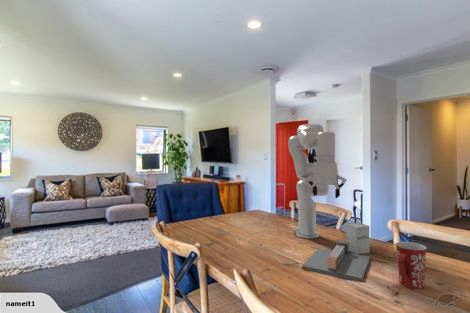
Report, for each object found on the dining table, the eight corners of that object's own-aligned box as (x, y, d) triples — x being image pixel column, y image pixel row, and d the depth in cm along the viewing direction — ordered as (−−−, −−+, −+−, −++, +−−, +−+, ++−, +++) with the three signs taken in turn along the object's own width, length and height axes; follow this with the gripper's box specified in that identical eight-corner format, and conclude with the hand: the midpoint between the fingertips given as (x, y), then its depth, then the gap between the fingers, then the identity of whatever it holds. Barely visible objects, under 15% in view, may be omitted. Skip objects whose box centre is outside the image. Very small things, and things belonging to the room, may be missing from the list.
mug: (403, 276, 100) (402, 239, 100) (431, 285, 93) (431, 246, 93) (385, 285, 93) (385, 246, 93) (415, 296, 86) (414, 254, 86)
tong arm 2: (331, 269, 103) (331, 259, 103) (341, 254, 118) (341, 245, 118) (336, 270, 102) (335, 259, 102) (345, 255, 118) (344, 246, 118)
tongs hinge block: (335, 253, 121) (335, 242, 121) (337, 251, 124) (337, 240, 124) (347, 255, 118) (347, 243, 118) (348, 253, 121) (348, 241, 121)
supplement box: (356, 255, 122) (356, 227, 122) (345, 249, 129) (345, 223, 129) (370, 253, 124) (369, 225, 124) (358, 247, 131) (358, 221, 131)
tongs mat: (301, 268, 108) (301, 265, 108) (318, 250, 128) (318, 247, 128) (362, 281, 96) (362, 278, 96) (370, 259, 116) (370, 256, 116)
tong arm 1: (327, 268, 104) (327, 258, 104) (336, 253, 119) (336, 244, 119) (331, 269, 103) (331, 259, 103) (340, 254, 119) (340, 245, 119)
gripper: (304, 159, 124) (304, 196, 124) (344, 160, 114) (344, 200, 115) (309, 158, 130) (309, 193, 131) (348, 158, 120) (347, 196, 121)
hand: (325, 196), depth 123 cm, fingers open, 9 cm apart
